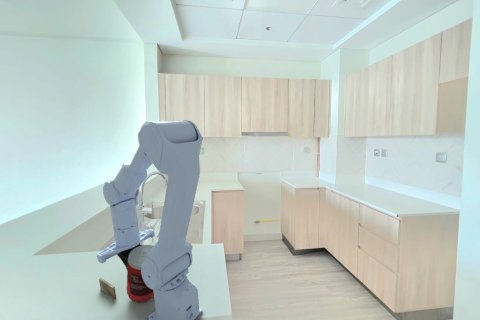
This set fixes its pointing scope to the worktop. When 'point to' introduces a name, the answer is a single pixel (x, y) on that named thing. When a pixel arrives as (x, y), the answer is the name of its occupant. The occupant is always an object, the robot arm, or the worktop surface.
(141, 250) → the canned food
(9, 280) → the worktop surface
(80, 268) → the worktop surface
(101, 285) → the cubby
